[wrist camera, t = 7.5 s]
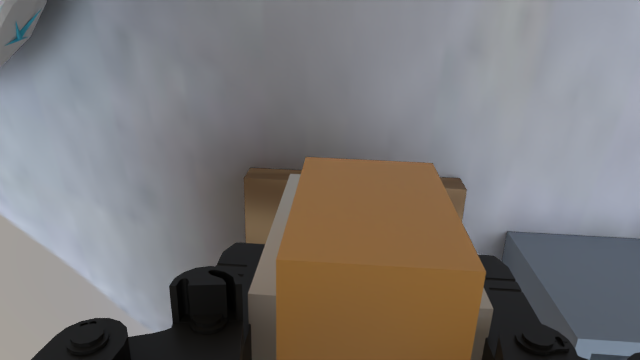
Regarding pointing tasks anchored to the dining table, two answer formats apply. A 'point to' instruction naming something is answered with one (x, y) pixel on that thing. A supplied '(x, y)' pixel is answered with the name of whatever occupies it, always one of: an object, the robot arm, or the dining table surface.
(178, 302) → the robot arm
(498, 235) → the dining table surface
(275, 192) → the board
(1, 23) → the puzzle ball
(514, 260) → the tub
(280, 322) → the lid
